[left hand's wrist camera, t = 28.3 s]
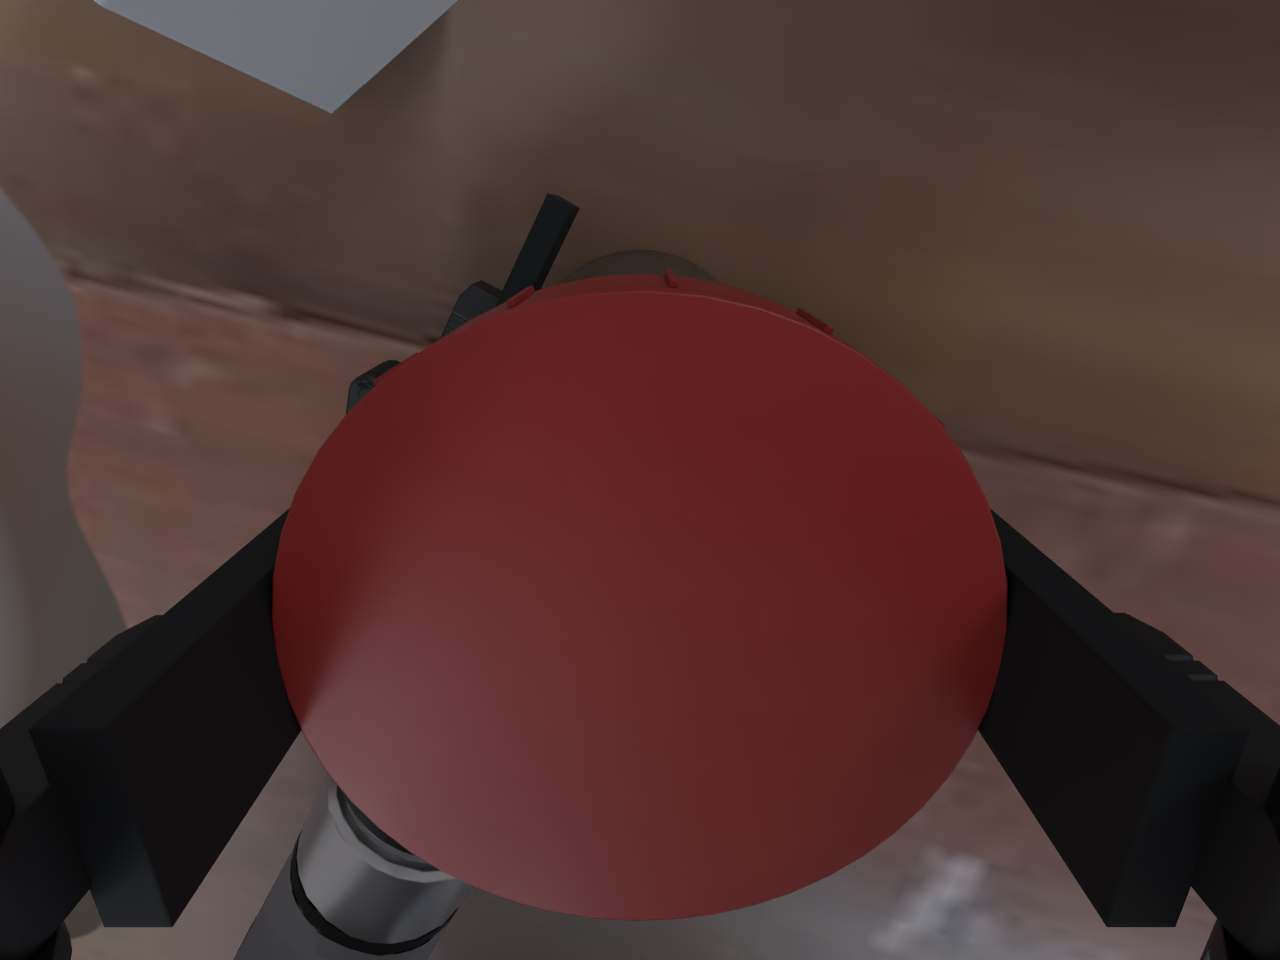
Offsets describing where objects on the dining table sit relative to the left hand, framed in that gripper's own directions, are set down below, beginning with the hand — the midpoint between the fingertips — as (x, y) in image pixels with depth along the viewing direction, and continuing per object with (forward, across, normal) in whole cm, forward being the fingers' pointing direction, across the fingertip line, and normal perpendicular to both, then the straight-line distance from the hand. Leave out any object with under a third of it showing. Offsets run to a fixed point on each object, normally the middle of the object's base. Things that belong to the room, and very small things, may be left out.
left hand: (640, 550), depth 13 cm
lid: (-3, 0, 0) cm, 3 cm away
